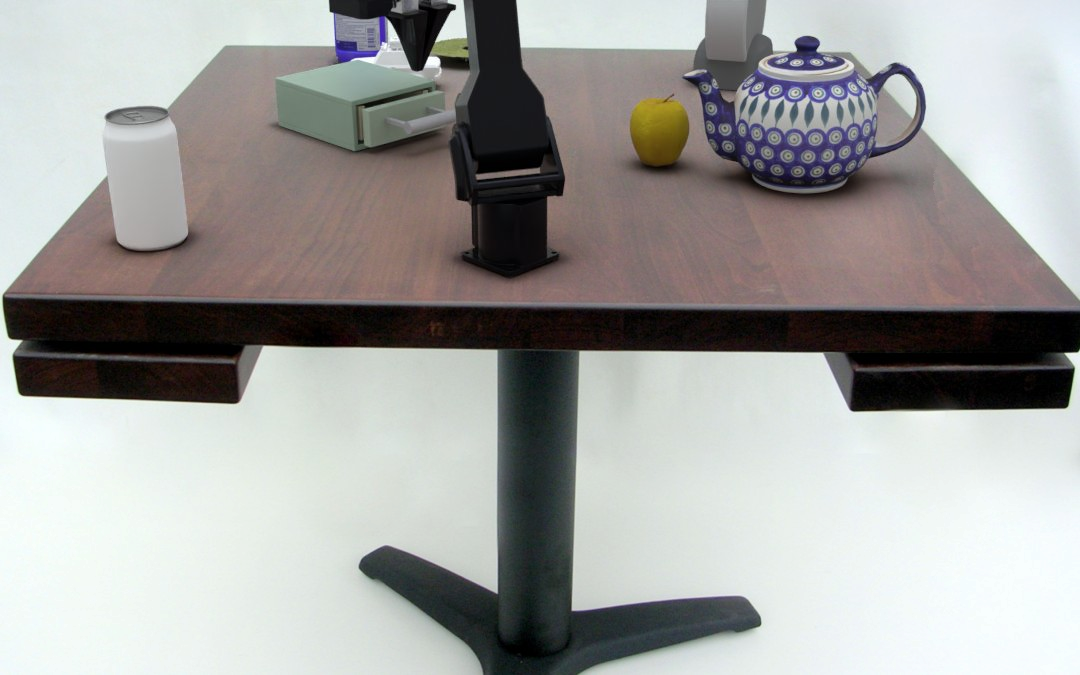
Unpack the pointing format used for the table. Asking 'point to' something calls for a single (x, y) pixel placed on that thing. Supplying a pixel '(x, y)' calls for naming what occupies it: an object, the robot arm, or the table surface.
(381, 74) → the cabinet
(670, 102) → the apple
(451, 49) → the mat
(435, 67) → the toy car
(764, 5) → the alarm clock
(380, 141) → the drawer
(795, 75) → the teapot
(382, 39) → the bottle
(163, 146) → the can
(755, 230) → the table surface
